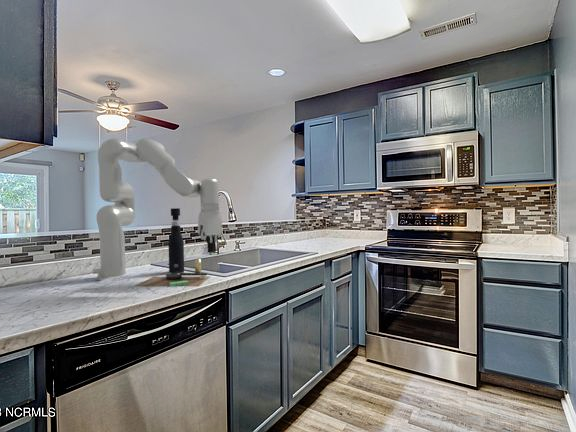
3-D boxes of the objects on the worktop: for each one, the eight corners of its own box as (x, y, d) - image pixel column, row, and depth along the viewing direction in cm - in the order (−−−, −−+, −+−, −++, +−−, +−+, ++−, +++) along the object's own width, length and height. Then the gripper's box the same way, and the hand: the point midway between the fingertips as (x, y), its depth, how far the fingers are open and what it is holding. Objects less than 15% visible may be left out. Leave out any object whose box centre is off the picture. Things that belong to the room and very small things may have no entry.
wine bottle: (179, 273, 147) (177, 208, 146) (187, 275, 143) (185, 208, 142) (166, 275, 142) (164, 208, 141) (174, 277, 138) (172, 208, 137)
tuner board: (133, 290, 117) (133, 283, 117) (153, 280, 133) (153, 274, 133) (198, 290, 116) (198, 283, 116) (210, 280, 132) (210, 274, 132)
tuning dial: (163, 279, 126) (163, 261, 126) (169, 276, 132) (169, 258, 132) (204, 279, 126) (204, 260, 126) (209, 276, 132) (208, 258, 132)
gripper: (216, 208, 142) (218, 249, 142) (189, 209, 129) (191, 254, 130) (228, 207, 138) (230, 250, 138) (202, 208, 125) (204, 255, 126)
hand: (211, 251), depth 134 cm, fingers closed
